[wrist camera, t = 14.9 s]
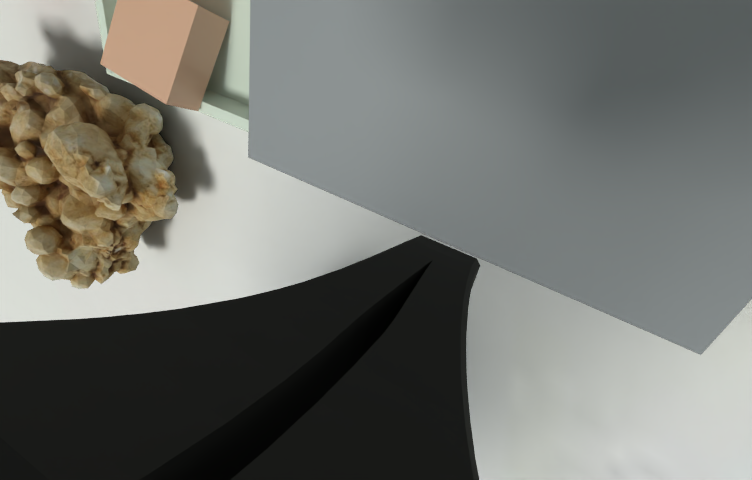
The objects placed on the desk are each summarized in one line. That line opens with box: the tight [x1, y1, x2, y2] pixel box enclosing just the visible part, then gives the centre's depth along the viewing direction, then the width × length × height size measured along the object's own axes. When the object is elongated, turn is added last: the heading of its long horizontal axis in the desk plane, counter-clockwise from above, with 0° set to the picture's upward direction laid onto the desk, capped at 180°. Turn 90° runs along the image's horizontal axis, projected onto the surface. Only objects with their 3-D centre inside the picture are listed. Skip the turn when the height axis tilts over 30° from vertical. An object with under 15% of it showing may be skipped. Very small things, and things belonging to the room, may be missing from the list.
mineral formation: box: [0, 60, 178, 289], centre depth 27 cm, size 8×13×15 cm
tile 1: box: [100, 0, 230, 111], centre depth 20 cm, size 4×4×2 cm
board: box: [248, 0, 752, 355], centre depth 15 cm, size 13×20×2 cm, turn 78°
